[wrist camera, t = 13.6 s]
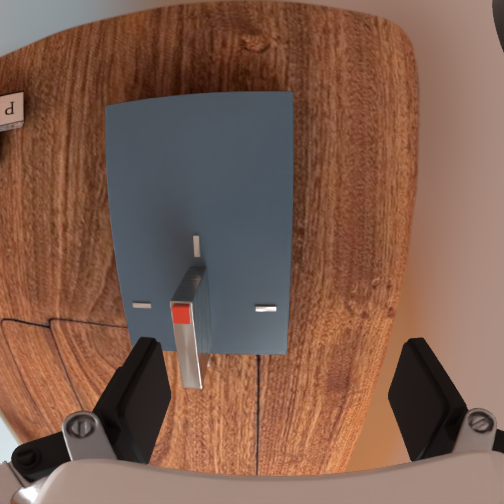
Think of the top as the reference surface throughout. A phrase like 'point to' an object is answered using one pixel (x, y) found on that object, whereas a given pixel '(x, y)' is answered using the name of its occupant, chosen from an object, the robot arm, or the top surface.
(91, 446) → the robot arm
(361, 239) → the top surface
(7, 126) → the building blocks
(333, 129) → the top surface
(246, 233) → the blue-grey rectangular block
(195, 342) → the lever
